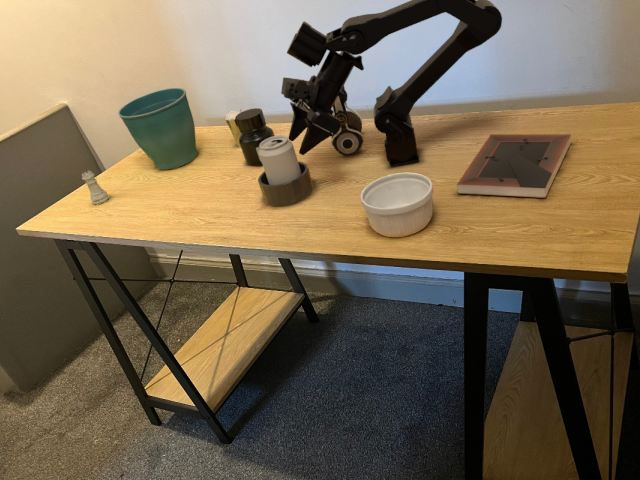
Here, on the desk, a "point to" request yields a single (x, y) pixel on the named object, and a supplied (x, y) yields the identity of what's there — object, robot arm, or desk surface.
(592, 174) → the desk surface
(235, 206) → the desk surface
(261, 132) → the ink bottle
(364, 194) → the ramekin
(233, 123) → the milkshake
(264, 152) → the can
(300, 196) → the bowl
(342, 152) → the headset
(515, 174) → the picture frame
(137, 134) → the flower pot
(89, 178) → the rook chess piece
